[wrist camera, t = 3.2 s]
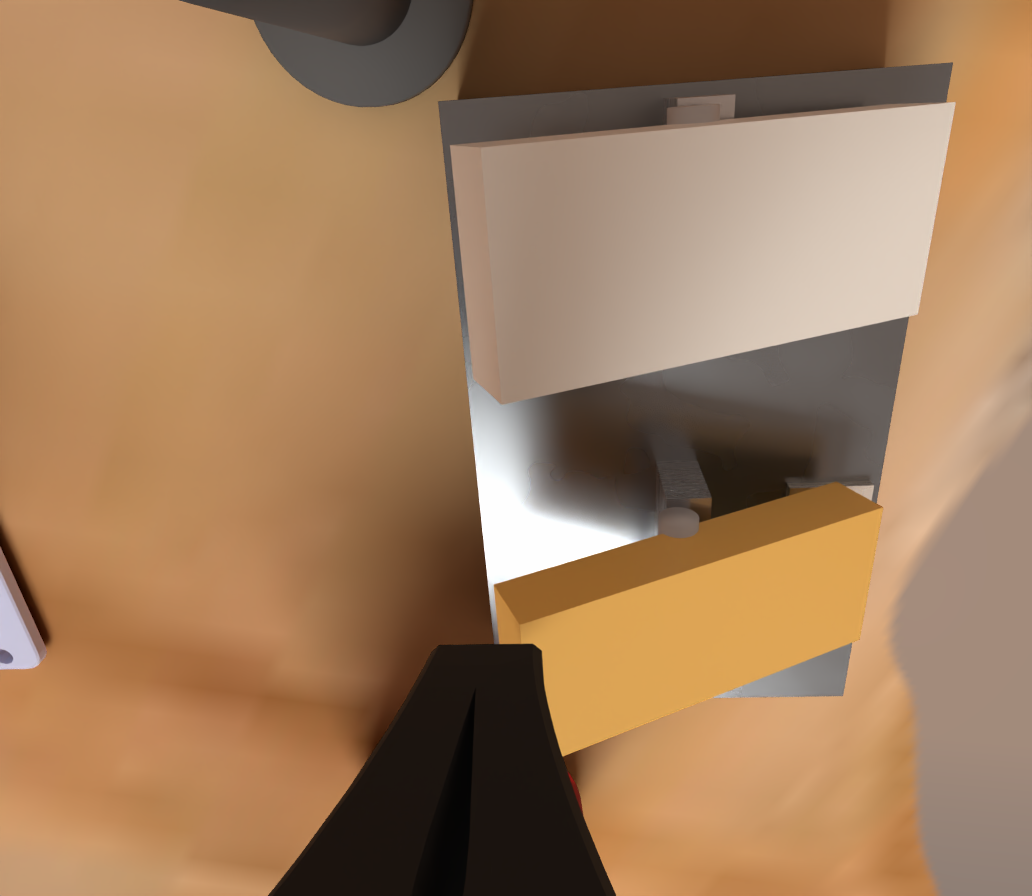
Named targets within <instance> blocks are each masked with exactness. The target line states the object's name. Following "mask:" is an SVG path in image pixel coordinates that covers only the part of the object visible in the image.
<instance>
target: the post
mask: <svg viewBox="0 0 1032 896" xmlns="http://www.w3.org/2000/svg"><path fill="white" fill-rule="evenodd" d="M180 1H184V2H187V3H190V4H194V5H198V6H202V7H206V8H210V9H214V10H217V11H221V12H225V13H229V14H233V15H237V16H241V17H245V18H249V19H252V20H254V21H255V24H256V26H257V28H258V30H259V32H260V34H261V36H262V38H263V40H264V42H265V43H266V45H267V46H268V48H269V50H270V51H271V53H272V54H273V55H274V57H275V58H276V59H277V60H278V62H279V63H280V64H281V65H282V67H283V68H284V69H285V70H286V71H287V72H288V73H289V74H290V75H291V76H292V77H293V78H295V79H296V80H297V81H299V82H300V83H301V84H302V85H304V86H305V87H306V88H308V89H310V90H311V91H313V92H314V93H316V94H318V95H320V96H322V97H324V98H327V99H329V100H331V101H334V102H337V103H341V104H344V105H350V106H357V107H381V106H388V105H394V104H397V103H400V102H404V101H407V100H409V99H411V98H413V97H415V96H417V95H419V94H420V93H422V92H423V91H425V90H426V89H428V88H429V87H431V86H432V85H433V84H434V83H435V82H436V81H437V80H438V79H439V78H440V77H441V76H442V75H443V74H444V73H445V71H446V70H447V69H448V68H449V67H450V65H451V63H452V62H453V60H454V59H455V57H456V56H457V54H458V52H459V50H460V47H461V45H462V43H463V41H464V38H465V35H466V32H467V29H468V26H469V22H470V17H471V12H472V3H473V0H180Z"/></svg>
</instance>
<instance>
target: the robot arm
mask: <svg viewBox="0 0 1032 896" xmlns="http://www.w3.org/2000/svg"><path fill="white" fill-rule="evenodd" d="M46 653H47V651H46V647H45V645H44V642H43V640H42V638H41V636H40V634H39V631H38V629H37V627H36V625H35V622H34V620H33V618H32V616H31V614H30V611H29V609H28V607H27V605H26V603H25V600H24V598H23V596H22V594H21V591H20V589H19V587H18V585H17V583H16V580H15V578H14V576H13V574H12V572H11V569H10V567H9V565H8V563H7V560H6V558H5V556H4V554H3V552H2V549H1V547H0V669H30V668H34V667H36V666H37V665H38V664H39V663H40V662H41V661H42V660H43V659H44V658H45V656H46ZM268 896H616V894H615V892H614V890H613V887H612V885H611V883H610V880H609V878H608V876H607V873H606V871H605V869H604V866H603V864H602V862H601V859H600V857H599V854H598V852H597V849H596V847H595V844H594V842H593V840H592V837H591V835H590V832H589V830H588V827H587V825H586V822H585V820H584V817H583V814H582V811H581V809H580V806H579V803H578V801H577V798H576V795H575V792H574V789H573V786H572V783H571V780H570V778H569V775H568V772H567V769H566V766H565V763H564V760H563V757H562V754H561V751H560V747H559V744H558V741H557V737H556V734H555V730H554V726H553V722H552V718H551V714H550V710H549V706H548V702H547V697H546V692H545V686H544V674H543V659H542V650H540V649H539V648H538V647H537V646H535V645H534V644H476V645H439V646H438V647H437V648H436V649H434V650H433V651H432V652H431V654H430V656H429V658H428V660H427V662H426V664H425V666H424V668H423V669H422V671H421V673H420V675H419V677H418V679H417V680H416V682H415V684H414V686H413V687H412V689H411V691H410V693H409V694H408V696H407V698H406V700H405V701H404V703H403V705H402V706H401V708H400V710H399V711H398V713H397V715H396V716H395V718H394V719H393V721H392V723H391V724H390V726H389V728H388V729H387V731H386V732H385V734H384V736H383V737H382V739H381V740H380V742H379V743H378V745H377V746H376V748H375V749H374V751H373V752H372V754H371V755H370V757H369V758H368V760H367V761H366V763H365V765H364V766H363V768H362V769H361V771H360V772H359V774H358V775H357V777H356V778H355V780H354V781H353V783H352V784H351V786H350V787H349V789H348V790H347V791H346V793H345V794H344V796H343V797H342V798H341V800H340V801H339V803H338V804H337V805H336V807H335V808H334V809H333V811H332V812H331V813H330V815H329V816H328V818H327V819H326V820H325V822H324V823H323V824H322V826H321V827H320V829H319V830H318V831H317V833H316V834H315V835H314V837H313V838H312V839H311V841H310V842H309V844H308V845H307V846H306V848H305V849H304V850H303V852H302V853H301V854H300V856H299V857H298V858H297V860H296V861H295V862H294V863H293V865H292V866H291V867H290V869H289V870H288V871H287V872H286V874H285V875H284V876H283V877H282V879H281V880H280V881H279V883H278V884H277V885H276V886H275V888H274V889H273V890H272V891H271V892H270V894H269V895H268Z"/></svg>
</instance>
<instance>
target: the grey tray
mask: <svg viewBox="0 0 1032 896" xmlns="http://www.w3.org/2000/svg"><path fill="white" fill-rule="evenodd" d="M952 65H953V63H941V64H928V65H914V66H901V67H888V68H875V69H861V70H848V71H835V72H822V73H808V74H795V75H782V76H769V77H755V78H742V79H729V80H716V81H702V82H689V83H676V84H663V85H649V86H636V87H623V88H610V89H596V90H583V91H570V92H557V93H543V94H530V95H517V96H504V97H490V98H477V99H464V100H451V101H438V104H439V114H440V124H441V133H442V143H443V153H444V163H445V172H446V182H447V192H448V201H449V211H450V221H451V230H452V240H453V250H454V259H455V269H456V279H457V288H458V298H459V308H460V317H461V327H462V337H463V347H464V356H465V366H466V376H467V385H468V395H469V405H470V414H471V424H472V434H473V443H474V453H475V463H476V472H477V482H478V492H479V501H480V511H481V521H482V531H483V540H484V550H485V560H486V569H487V579H488V589H489V598H490V608H491V618H492V627H493V637H494V644H499V634H498V624H497V614H496V604H495V594H494V584H497V583H500V582H504V581H507V580H510V579H514V578H517V577H520V576H524V575H527V574H530V573H534V572H537V571H540V570H544V569H547V568H550V567H554V566H557V565H560V564H564V563H567V562H570V561H574V560H577V559H580V558H583V557H587V556H590V555H593V554H597V553H600V552H603V551H607V550H610V549H613V548H617V547H620V546H623V545H627V544H630V543H633V542H637V541H640V540H643V539H647V538H650V537H653V536H657V535H658V515H659V513H660V512H661V511H663V510H665V509H667V508H672V507H683V508H687V509H690V510H693V511H694V512H696V513H697V514H698V516H699V523H700V522H703V521H707V520H710V519H713V518H717V517H720V516H723V515H726V514H730V513H733V512H736V511H740V510H743V509H746V508H750V507H753V506H756V505H760V504H763V503H766V502H770V501H773V500H776V499H780V498H783V497H786V496H790V495H793V494H796V493H800V492H803V491H806V490H810V489H813V488H816V487H820V486H823V485H826V484H830V483H833V482H836V481H837V482H838V483H840V484H842V485H844V486H846V487H847V488H849V489H851V490H853V491H855V492H856V493H858V494H860V495H862V496H864V497H865V498H867V499H869V500H871V501H873V502H874V503H877V497H878V492H879V486H880V480H881V474H882V468H883V463H884V457H885V451H886V445H887V440H888V434H889V428H890V422H891V417H892V411H893V405H894V399H895V394H896V388H897V382H898V376H899V371H900V365H901V359H902V353H903V348H904V342H905V336H906V330H907V324H908V319H909V316H908V317H904V318H899V319H894V320H890V321H885V322H881V323H876V324H871V325H867V326H862V327H858V328H853V329H848V330H844V331H839V332H835V333H830V334H825V335H821V336H816V337H812V338H807V339H802V340H798V341H793V342H789V343H784V344H779V345H775V346H770V347H766V348H761V349H756V350H752V351H747V352H743V353H738V354H733V355H729V356H724V357H720V358H715V359H710V360H706V361H701V362H697V363H692V364H687V365H683V366H678V367H674V368H669V369H664V370H660V371H655V372H651V373H646V374H641V375H637V376H632V377H628V378H623V379H618V380H614V381H609V382H605V383H600V384H595V385H591V386H586V387H582V388H577V389H573V390H568V391H563V392H559V393H554V394H550V395H545V396H540V397H536V398H531V399H527V400H522V401H517V402H513V403H508V404H504V405H501V404H500V403H499V402H498V401H497V400H496V399H495V398H494V397H493V396H491V395H490V394H489V393H488V392H487V391H486V390H485V389H484V388H483V387H482V386H480V385H479V384H478V383H477V382H476V381H475V380H474V379H473V372H472V362H471V352H470V342H469V332H468V322H467V312H466V302H465V292H464V282H463V272H462V262H461V251H460V241H459V231H458V221H457V211H456V201H455V191H454V181H453V171H452V161H451V151H450V145H456V144H467V143H478V142H489V141H499V140H510V139H521V138H531V137H542V136H553V135H564V134H574V133H585V132H596V131H607V130H617V129H628V128H639V127H649V126H660V125H667V108H669V107H680V106H693V105H709V104H720V120H724V119H735V118H746V117H757V116H767V115H778V114H789V113H799V112H810V111H821V110H832V109H842V108H853V107H864V106H874V105H885V104H907V103H941V102H946V100H947V94H948V88H949V83H950V77H951V71H952ZM851 647H852V643H850V644H847V645H845V646H842V647H840V648H837V649H835V650H832V651H829V652H827V653H824V654H822V655H819V656H817V657H814V658H812V659H809V660H807V661H804V662H801V663H799V664H796V665H794V666H791V667H789V668H786V669H784V670H781V671H779V672H776V673H774V674H771V675H768V676H766V677H763V678H761V679H758V680H756V681H753V682H751V683H748V684H746V685H743V686H741V687H738V688H735V689H733V690H730V691H728V692H725V693H723V694H720V695H718V696H715V697H713V698H735V697H804V696H843V693H844V687H845V682H846V676H847V670H848V664H849V659H850V653H851Z"/></svg>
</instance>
